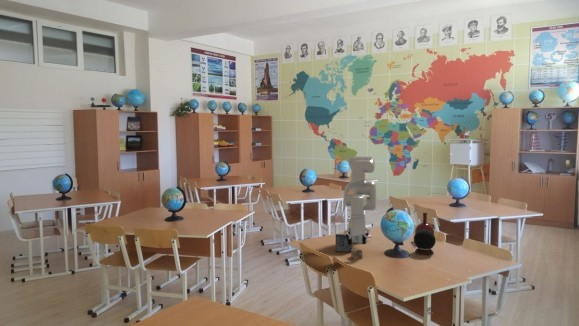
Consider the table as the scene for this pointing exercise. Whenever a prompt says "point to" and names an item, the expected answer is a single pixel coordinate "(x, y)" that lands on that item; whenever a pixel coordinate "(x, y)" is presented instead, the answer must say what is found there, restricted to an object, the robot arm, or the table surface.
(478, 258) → the table surface
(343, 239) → the small box
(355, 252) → the walnut cube
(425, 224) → the round-bottom flask
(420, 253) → the black round ball
